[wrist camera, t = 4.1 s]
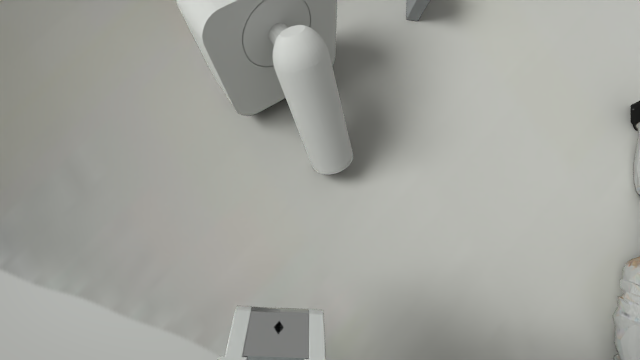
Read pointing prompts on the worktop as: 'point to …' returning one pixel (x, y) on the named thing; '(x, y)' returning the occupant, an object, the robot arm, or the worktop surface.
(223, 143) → the worktop surface
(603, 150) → the worktop surface
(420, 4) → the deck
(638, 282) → the figurine
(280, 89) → the wall hook
